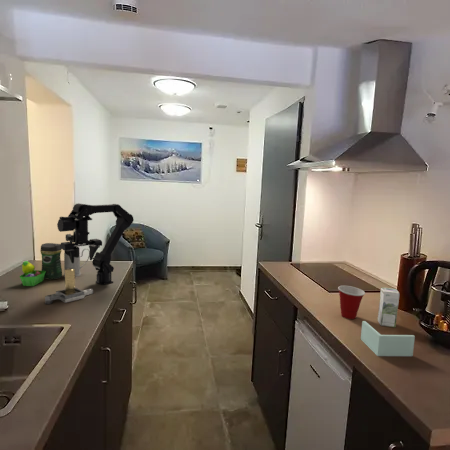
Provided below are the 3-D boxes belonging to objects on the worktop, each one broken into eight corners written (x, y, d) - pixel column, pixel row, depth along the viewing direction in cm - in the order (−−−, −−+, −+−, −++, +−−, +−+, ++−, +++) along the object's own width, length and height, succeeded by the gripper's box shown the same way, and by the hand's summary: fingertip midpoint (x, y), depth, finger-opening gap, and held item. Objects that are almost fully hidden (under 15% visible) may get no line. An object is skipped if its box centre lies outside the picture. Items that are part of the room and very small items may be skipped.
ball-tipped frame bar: (87, 290, 164) (87, 284, 164) (97, 294, 159) (97, 288, 158) (41, 301, 148) (40, 294, 147) (50, 306, 142) (49, 299, 142)
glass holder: (61, 274, 189) (60, 247, 187) (86, 270, 199) (86, 244, 197) (67, 277, 183) (66, 250, 181) (93, 273, 193) (93, 247, 191)
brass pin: (69, 296, 156) (68, 268, 154) (77, 297, 155) (76, 268, 153) (63, 298, 152) (62, 270, 150) (71, 299, 151) (70, 271, 149)
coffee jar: (64, 276, 185) (64, 242, 183) (55, 280, 177) (55, 245, 175) (48, 275, 186) (47, 241, 184) (38, 279, 178) (37, 244, 176)
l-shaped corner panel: (412, 357, 113) (414, 336, 112) (377, 357, 112) (379, 336, 111) (392, 341, 125) (394, 321, 124) (360, 340, 124) (362, 320, 123)
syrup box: (392, 322, 140) (395, 288, 138) (395, 328, 135) (399, 292, 133) (377, 320, 142) (380, 286, 140) (380, 326, 136) (384, 291, 134)
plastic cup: (359, 324, 137) (362, 295, 136) (332, 317, 143) (335, 289, 141) (365, 315, 146) (367, 288, 145) (339, 309, 152) (341, 283, 150)
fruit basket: (34, 287, 166) (34, 264, 164) (16, 286, 166) (15, 263, 164) (46, 280, 177) (46, 259, 176) (29, 279, 177) (28, 258, 176)
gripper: (90, 226, 176) (91, 256, 178) (53, 229, 162) (54, 261, 164) (102, 229, 169) (102, 259, 171) (65, 232, 155) (65, 266, 157)
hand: (81, 261), depth 166 cm, fingers open, 9 cm apart
